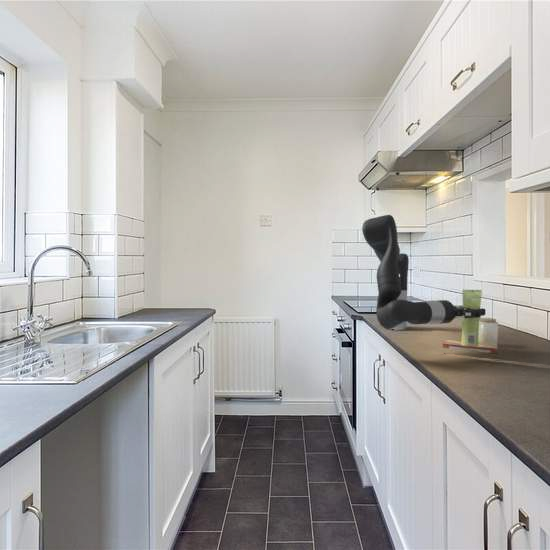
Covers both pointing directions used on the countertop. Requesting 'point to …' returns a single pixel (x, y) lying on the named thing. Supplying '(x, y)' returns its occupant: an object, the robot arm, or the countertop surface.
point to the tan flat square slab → (469, 347)
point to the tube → (471, 324)
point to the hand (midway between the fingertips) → (473, 310)
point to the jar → (488, 332)
